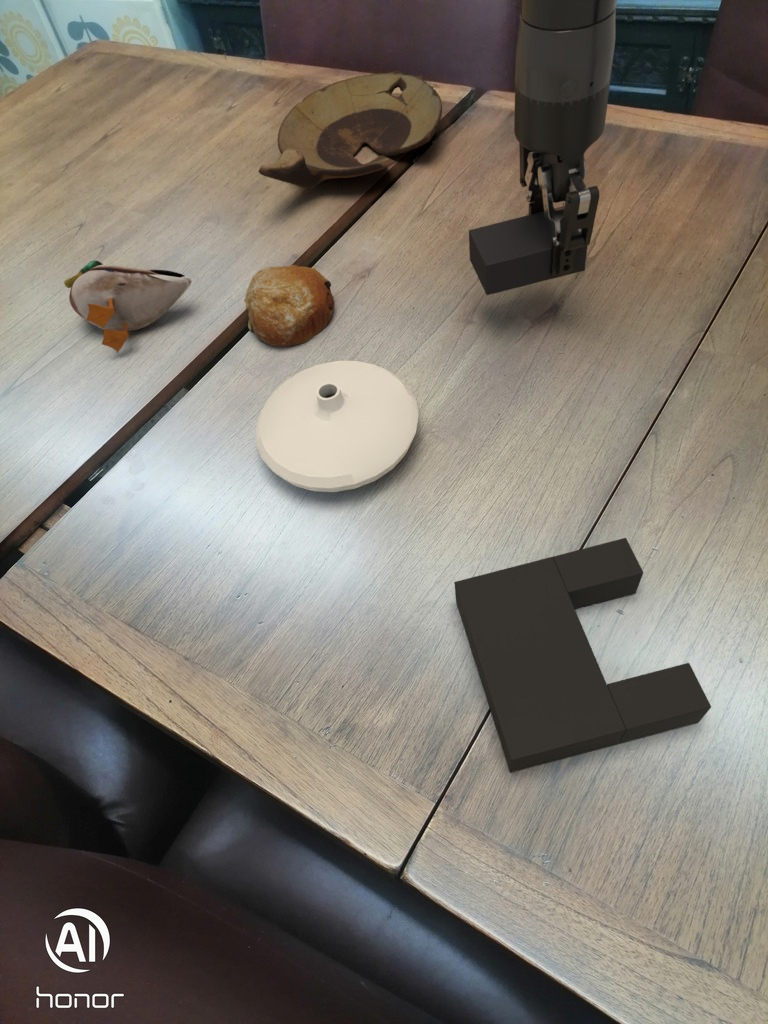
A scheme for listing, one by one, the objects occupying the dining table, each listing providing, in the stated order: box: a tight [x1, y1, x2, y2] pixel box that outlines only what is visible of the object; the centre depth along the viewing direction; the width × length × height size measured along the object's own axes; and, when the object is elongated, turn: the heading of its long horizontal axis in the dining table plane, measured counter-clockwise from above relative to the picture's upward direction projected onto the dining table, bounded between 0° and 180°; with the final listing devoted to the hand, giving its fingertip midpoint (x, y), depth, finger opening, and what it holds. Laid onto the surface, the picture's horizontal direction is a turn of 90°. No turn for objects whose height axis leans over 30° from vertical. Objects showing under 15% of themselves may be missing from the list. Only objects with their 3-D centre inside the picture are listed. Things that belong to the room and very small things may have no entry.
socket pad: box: [454, 537, 712, 773], centre depth 52 cm, size 14×14×4 cm
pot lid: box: [255, 360, 420, 493], centre depth 65 cm, size 16×16×7 cm
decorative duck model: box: [63, 260, 192, 353], centre depth 81 cm, size 15×8×15 cm
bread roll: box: [243, 264, 335, 348], centre depth 78 cm, size 10×10×8 cm
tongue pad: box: [468, 206, 588, 296], centre depth 68 cm, size 10×6×4 cm, turn 102°
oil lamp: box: [258, 70, 443, 189], centre depth 94 cm, size 22×30×8 cm
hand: (549, 253), depth 69 cm, fingers closed on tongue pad, 6 cm apart
